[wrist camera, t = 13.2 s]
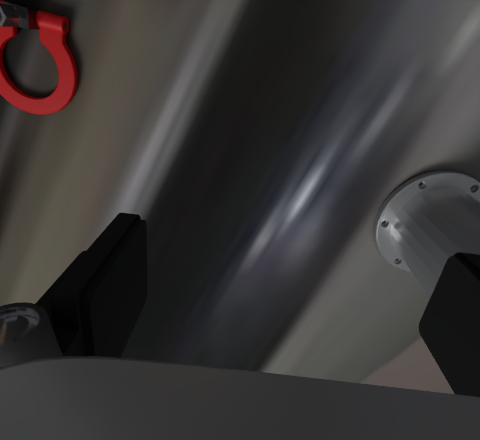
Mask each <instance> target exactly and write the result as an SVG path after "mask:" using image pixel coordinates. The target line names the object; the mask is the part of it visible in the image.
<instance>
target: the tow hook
mask: <svg viewBox="0 0 480 440" xmlns="http://www.w3.org/2000/svg"><path fill="white" fill-rule="evenodd" d="M17 27H20V28H24V29H40V41H41V43H42V44H43V45H44V46H45V47H46V48H47V49H48V50H49V51H50V52H51V54H52V56H53V57H54V59H55V61H56V64H57V67H58V71H59V81H58V85H57V87H56V89H55V91H54V92H53V93H52V94H51V95H50V96H48V97H42V98H38V97H33V96H30V95H28V94H26V93H24V92H23V91H21V90H20V89H19V88H17V87H16V86H15V85H14V83H13V82H12V81H11V80H10V78H9V76H8V75H7V73H6V70H5V68H4V64H3V50H4V47H5V45H6V43H7V42H8V41H9V40H10V39H11V38H13V37H15V36H17V34H18V29H17ZM68 31H69V21H68V19H67V18H66V17H63V16H59V15H55V14H52V13H48V12H44V11H41V10H40V9H38V8H34V7H30V6H27V5H23V4H19V3H13V2H7V1H3V0H0V94H1V95H2V96H3V97H4V98H5V99H6V100H7V101H9V102H10V103H11V104H13V105H14V106H15V107H17V108H19V109H22V110H24V111H26V112H29V113H34V114H39V115H41V114H51V113H54V112H56V111H59V110H61V109H63V108H64V107H65V106H67V105H68V104H69V103H70V102H71V100H72V99H73V97H74V95H75V93H76V89H77V85H78V72H77V67H76V64H75V60H74V57H73V55H72V53H71V51H70V49H69V47H68V46H67V44H66V34H67V33H68Z"/></svg>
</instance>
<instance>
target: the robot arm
mask: <svg viewBox="0 0 480 440" xmlns="http://www.w3.org/2000/svg"><path fill="white" fill-rule="evenodd" d="M419 183H420V184H419ZM374 238H375V242H376V245H377V248H378V249H379V251H380V253H381V254H382V256H383V257H384V258H385V259H386V260H387V261H388V262H389V263H390V264H391V265H393V266H394V267H396V268H399V269H401V270H403V271H408V272H412V273H413V274H414V275H415V277H416V278H417V279H418V281H419V282H420V284H421V285H422V286H423V288H424V289H425V290H426V292H427V293H428V294H429V296H430V297H431V298H430V300H429V302H428V305H427V307H426V309H425V311H424V314H423V316H422V318H421V321H420V323H419V332H420V335H421V337H422V338H423V340H424V341H425V343H426V345H427V347H428V349H429V350H430V352H431V354H432V355H433V357H434V359H435V360H436V362H437V364H438V366H439V367H440V369H441V371H442V373H443V374H444V376H445V378H446V379H447V381H448V383H449V385H450V386H451V388H452V390H453V391H454V393H455V394H448V393H439V392H431V391H422V390H412V389H404V388H395V387H387V386H386V387H385V386H377V385H369V384H360V383H352V382H343V381H334V380H325V379H317V378H308V377H299V376H290V375H282V374H273V373H264V372H255V371H246V370H237V369H227V368H218V367H209V366H200V365H191V364H181V363H172V362H163V361H153V360H140V359H127V358H120V357H121V355H122V353H123V351H124V348H125V346H126V344H127V342H128V339H129V337H130V335H131V333H132V331H133V328H134V326H135V324H136V322H137V320H138V317H139V315H140V313H141V311H142V308H143V306H144V304H145V301H146V298H147V232H146V221H145V220H141V218H140V216H139V215H136V214H127V213H119V214H118V215H117V216H116V217H115V219H114V220H113V221H112V222H111V223H110V224H109V225H108V227H107V228H106V229H105V230H104V231H103V232H102V233H101V235H100V236H99V237H98V238H97V239H96V240H95V242H94V243H93V244H92V245H91V246H90V247H89V248H88V250H87V251H83V252H82V253H80V254H79V255H78V257H77V258H76V259H75V260H74V261H73V262H72V263H71V264H70V266H69V267H68V268H67V269H66V270H65V271H64V272H63V273H62V275H61V276H60V277H59V278H58V279H57V280H56V281H55V282H54V284H53V285H52V286H51V287H50V288H49V289H48V290H47V291H46V293H45V294H44V295H43V296H42V297H41V298H40V299H39V300H38V302H37V303H36V304H32V303H13V304H8V305H3V306H0V440H480V182H478V181H477V180H476V179H474V178H472V177H470V176H468V175H466V174H464V173H460V172H457V171H448V170H440V171H432V172H428V173H425V174H421V175H418V176H416V177H414V178H412V179H410V180H408V181H406V182H405V183H403V184H402V185H400V186H399V187H398V188H397V189H396V190H394V191H393V192H392V193H391V194H390V195H389V196H388V198H387V199H386V200H385V201H384V203H383V204H382V206H381V208H380V210H379V211H378V214H377V217H376V220H375V224H374Z"/></svg>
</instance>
